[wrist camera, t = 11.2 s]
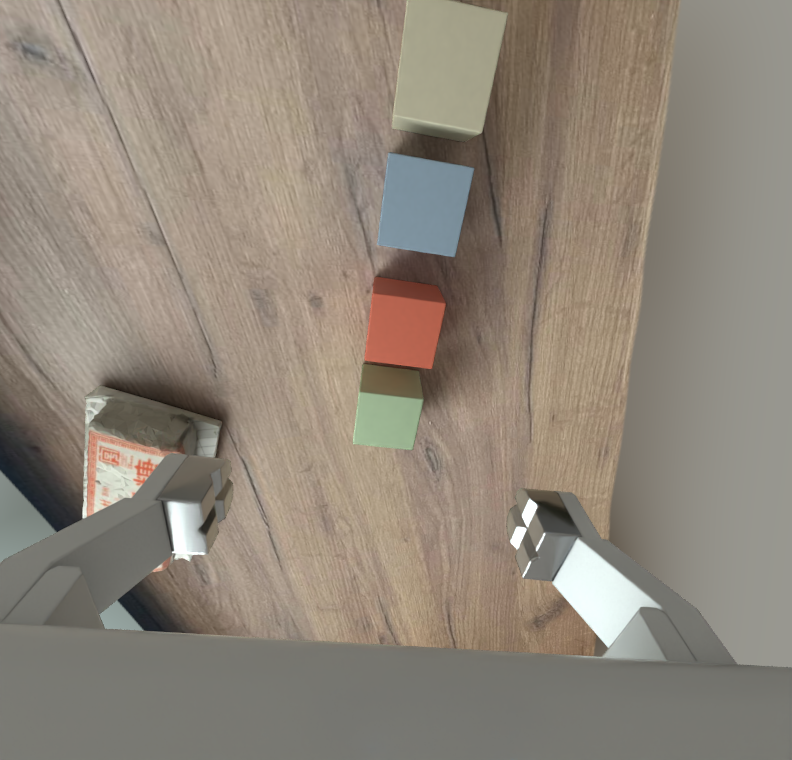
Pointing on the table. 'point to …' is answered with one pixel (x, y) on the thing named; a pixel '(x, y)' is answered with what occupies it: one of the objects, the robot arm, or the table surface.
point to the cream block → (447, 68)
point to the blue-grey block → (423, 204)
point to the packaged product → (136, 445)
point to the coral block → (404, 323)
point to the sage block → (388, 407)
